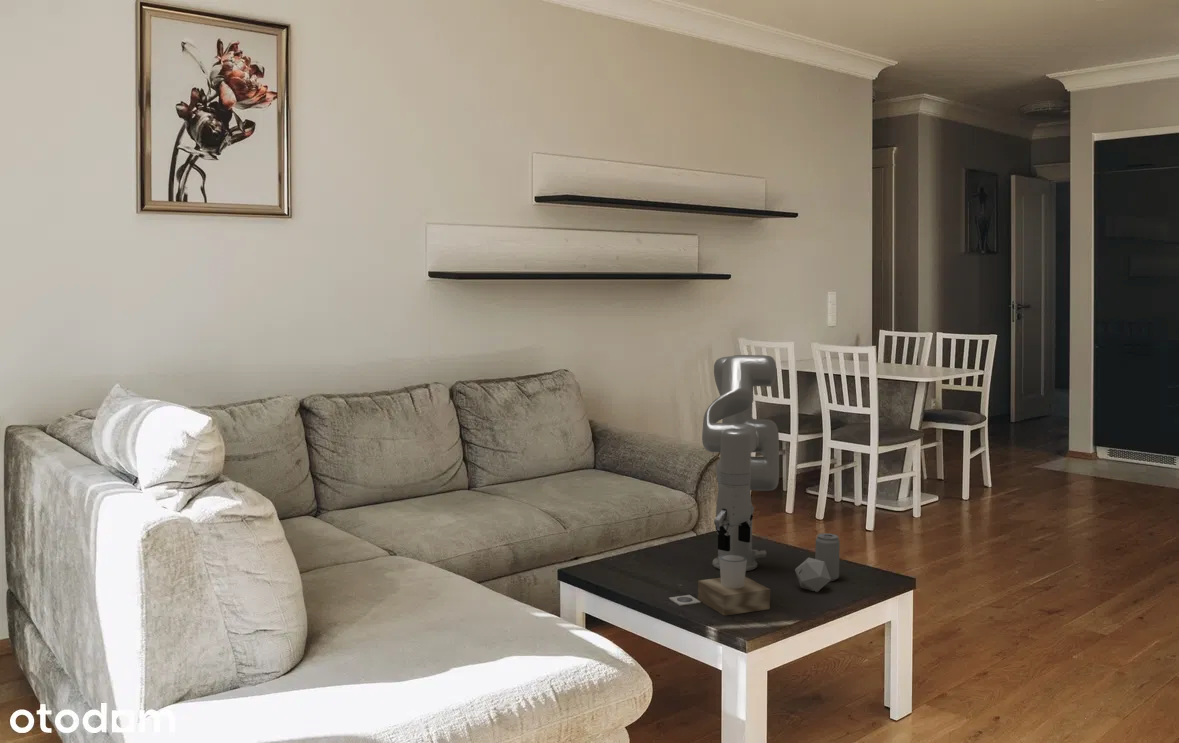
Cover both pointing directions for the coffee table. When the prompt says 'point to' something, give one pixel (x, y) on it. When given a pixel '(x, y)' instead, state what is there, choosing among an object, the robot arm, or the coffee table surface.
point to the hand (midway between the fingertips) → (734, 545)
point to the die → (812, 574)
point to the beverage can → (828, 553)
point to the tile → (684, 600)
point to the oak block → (733, 596)
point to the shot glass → (732, 571)
